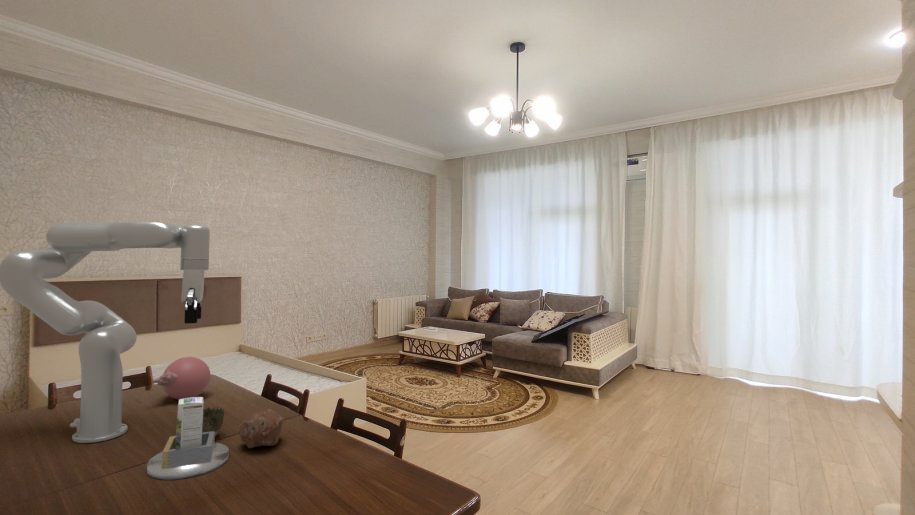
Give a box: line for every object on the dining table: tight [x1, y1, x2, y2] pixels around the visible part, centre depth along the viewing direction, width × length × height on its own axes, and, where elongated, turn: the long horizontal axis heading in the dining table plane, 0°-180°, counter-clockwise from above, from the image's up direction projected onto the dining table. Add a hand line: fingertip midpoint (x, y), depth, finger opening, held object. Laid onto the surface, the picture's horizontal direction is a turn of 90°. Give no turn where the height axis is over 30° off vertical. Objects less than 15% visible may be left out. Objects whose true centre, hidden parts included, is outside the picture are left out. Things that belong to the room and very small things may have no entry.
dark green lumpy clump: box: [202, 406, 226, 438], centre depth 129 cm, size 8×7×8 cm
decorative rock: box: [237, 408, 284, 449], centre depth 125 cm, size 13×11×10 cm
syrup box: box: [175, 396, 204, 449], centre depth 114 cm, size 6×6×14 cm
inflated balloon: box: [151, 356, 211, 401], centre depth 161 cm, size 15×20×15 cm
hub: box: [146, 431, 230, 481], centre depth 114 cm, size 18×18×6 cm
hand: (193, 320), depth 135 cm, fingers open, 9 cm apart
